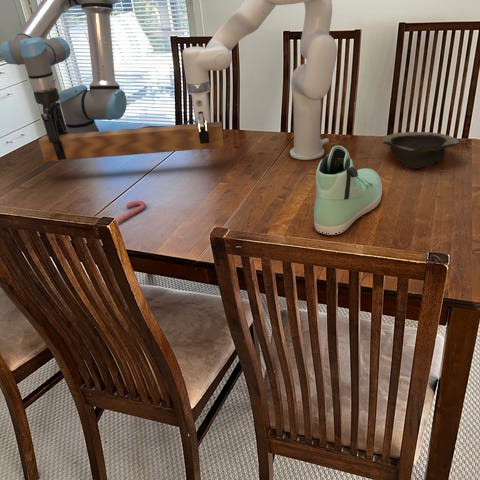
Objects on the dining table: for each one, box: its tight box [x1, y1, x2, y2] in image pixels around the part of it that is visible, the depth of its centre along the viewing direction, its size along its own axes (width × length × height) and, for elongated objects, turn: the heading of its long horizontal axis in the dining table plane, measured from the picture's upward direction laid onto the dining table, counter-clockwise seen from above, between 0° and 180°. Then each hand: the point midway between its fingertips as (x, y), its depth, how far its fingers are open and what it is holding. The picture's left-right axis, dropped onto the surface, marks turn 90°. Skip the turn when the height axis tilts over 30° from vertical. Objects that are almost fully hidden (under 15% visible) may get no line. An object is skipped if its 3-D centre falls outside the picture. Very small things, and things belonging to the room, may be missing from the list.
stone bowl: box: [381, 131, 461, 169], centre depth 164 cm, size 25×25×9 cm
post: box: [38, 121, 225, 163], centre depth 167 cm, size 62×5×8 cm, turn 92°
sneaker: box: [313, 145, 383, 236], centre depth 133 cm, size 14×35×20 cm, turn 152°
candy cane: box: [115, 200, 146, 225], centre depth 145 cm, size 6×15×2 cm, turn 145°
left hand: (64, 156), depth 169 cm, fingers closed on post, 5 cm apart
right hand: (204, 139), depth 167 cm, fingers closed on post, 5 cm apart
